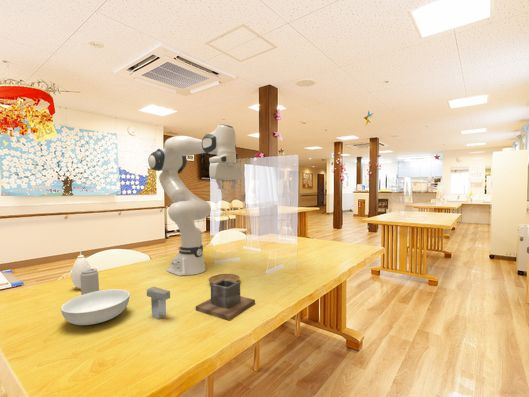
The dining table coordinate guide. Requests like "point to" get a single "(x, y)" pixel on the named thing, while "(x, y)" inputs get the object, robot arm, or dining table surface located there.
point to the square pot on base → (225, 300)
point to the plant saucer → (223, 276)
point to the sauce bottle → (79, 270)
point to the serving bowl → (95, 306)
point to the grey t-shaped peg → (158, 301)
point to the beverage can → (89, 281)
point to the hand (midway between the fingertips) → (227, 189)
